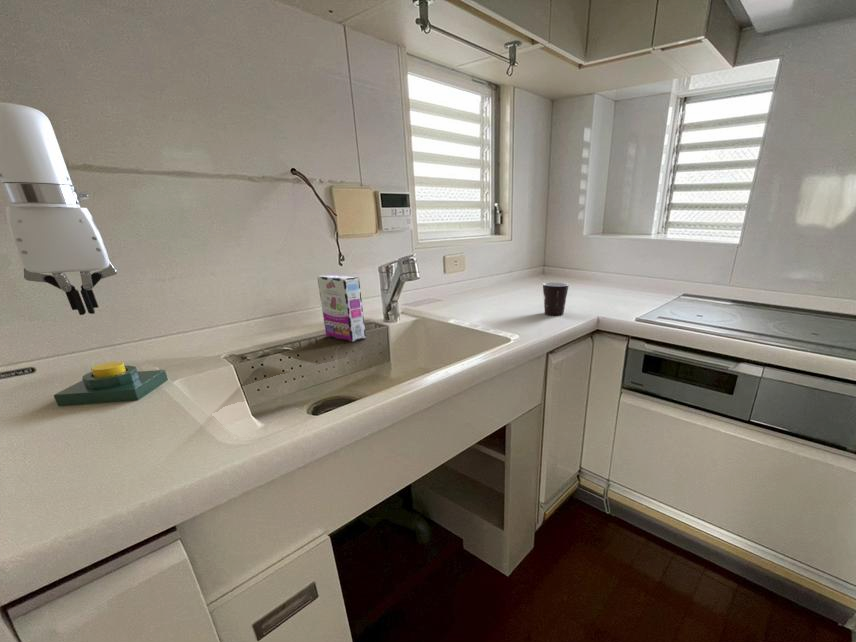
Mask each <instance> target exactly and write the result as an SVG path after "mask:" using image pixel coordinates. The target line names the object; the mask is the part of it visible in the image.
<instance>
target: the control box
mask: <svg viewBox="0 0 856 642" xmlns="http://www.w3.org/2000/svg"><path fill="white" fill-rule="evenodd" d="M124 366H125V369H126V372H124V373H121V374H118V375H114V376H108V377H99V378H95V377H94V376H93V373H92V371H89V372H88V373H86V374H84V375H82V376H81V377H82V378H81V379H82V380H81V381H78V382H76V383H74V384H71V385H70V386H69V387H67V388H64V389H63V390H60V391H58V392H57V393H55V394H53V398H54V400H55V402H56V405H57V406H58V407H69V406H70V407H71V406H82V405H95V404H96V405H97V404H107V403H108V404H110V403H124V402H136V401H140V400H141V399H143V398H145V396H147V395H148V394H150V393H151V392H153V391H154V390H156V389H157V388H159V387H160V386H162V385H163V384H165V383H166V382H167V381H168V380H169V378H168V376H167V372H166V369H157V370H156V369H155V370H141V371H140V370H139V371H138V369H137V367H136V366H134V365H124Z"/></svg>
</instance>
